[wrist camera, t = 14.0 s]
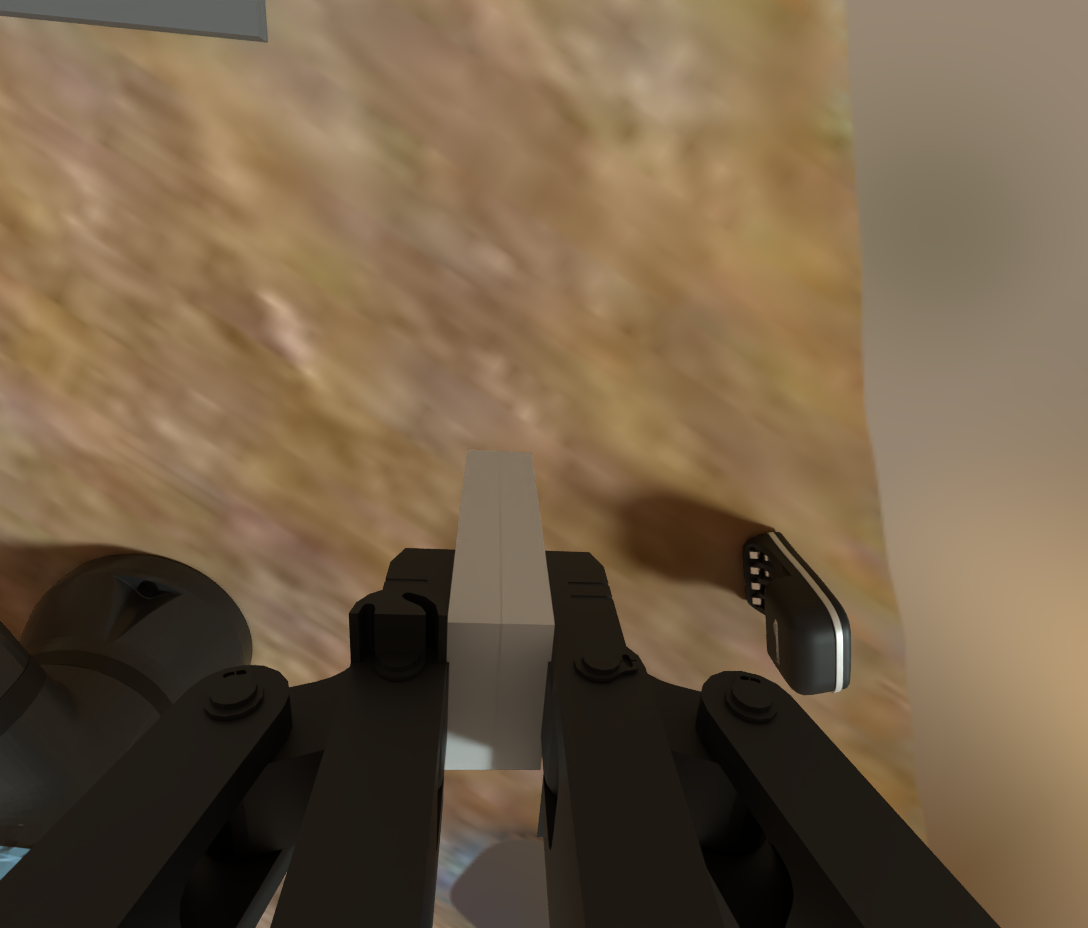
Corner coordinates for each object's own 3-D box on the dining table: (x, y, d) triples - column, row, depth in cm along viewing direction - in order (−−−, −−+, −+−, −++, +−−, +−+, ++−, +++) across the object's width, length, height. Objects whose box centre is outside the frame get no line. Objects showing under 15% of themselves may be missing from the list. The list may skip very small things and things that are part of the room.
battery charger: (730, 535, 50) (792, 626, 40) (779, 526, 50) (854, 614, 40) (736, 609, 53) (795, 712, 43) (782, 600, 53) (853, 701, 43)
